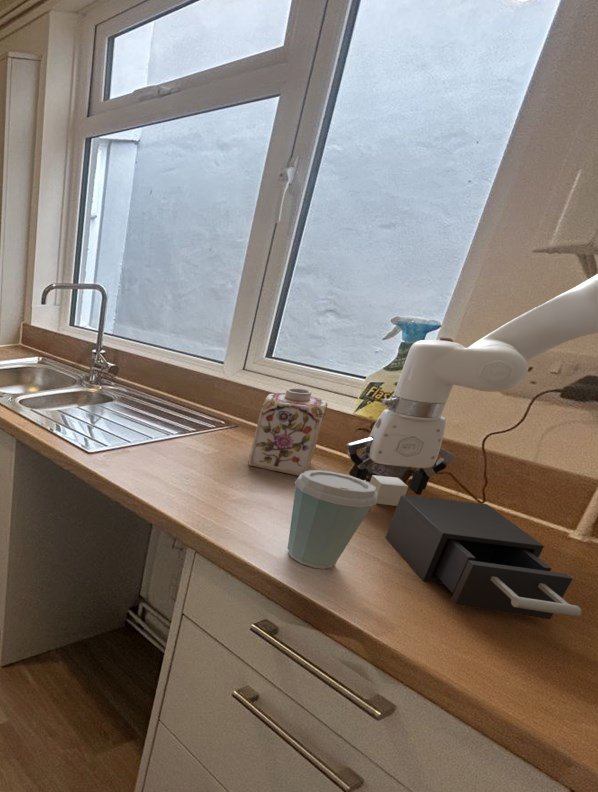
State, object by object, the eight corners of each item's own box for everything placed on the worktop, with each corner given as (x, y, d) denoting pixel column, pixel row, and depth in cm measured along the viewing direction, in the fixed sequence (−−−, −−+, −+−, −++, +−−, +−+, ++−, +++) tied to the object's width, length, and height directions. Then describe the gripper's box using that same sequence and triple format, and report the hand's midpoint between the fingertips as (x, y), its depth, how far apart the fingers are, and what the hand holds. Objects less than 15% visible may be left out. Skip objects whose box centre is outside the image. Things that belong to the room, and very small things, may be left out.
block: (391, 497, 108) (398, 477, 106) (401, 506, 104) (408, 486, 103) (365, 494, 109) (372, 474, 108) (374, 503, 106) (381, 483, 104)
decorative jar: (311, 462, 125) (333, 388, 118) (306, 478, 117) (329, 400, 110) (254, 451, 132) (271, 381, 125) (245, 465, 124) (263, 391, 117)
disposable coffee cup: (272, 536, 95) (294, 460, 89) (346, 551, 90) (373, 471, 84) (277, 567, 86) (302, 484, 80) (359, 584, 81) (391, 498, 75)
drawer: (585, 650, 67) (611, 607, 64) (480, 632, 70) (501, 590, 67) (494, 569, 83) (512, 532, 80) (413, 558, 86) (427, 522, 83)
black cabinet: (519, 595, 78) (544, 546, 75) (423, 580, 82) (443, 533, 79) (467, 548, 90) (487, 504, 87) (385, 537, 94) (401, 494, 90)
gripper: (369, 408, 99) (341, 489, 105) (485, 417, 93) (448, 502, 100) (353, 397, 105) (328, 475, 112) (462, 405, 100) (428, 486, 107)
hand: (385, 488), depth 106 cm, fingers open, 9 cm apart
